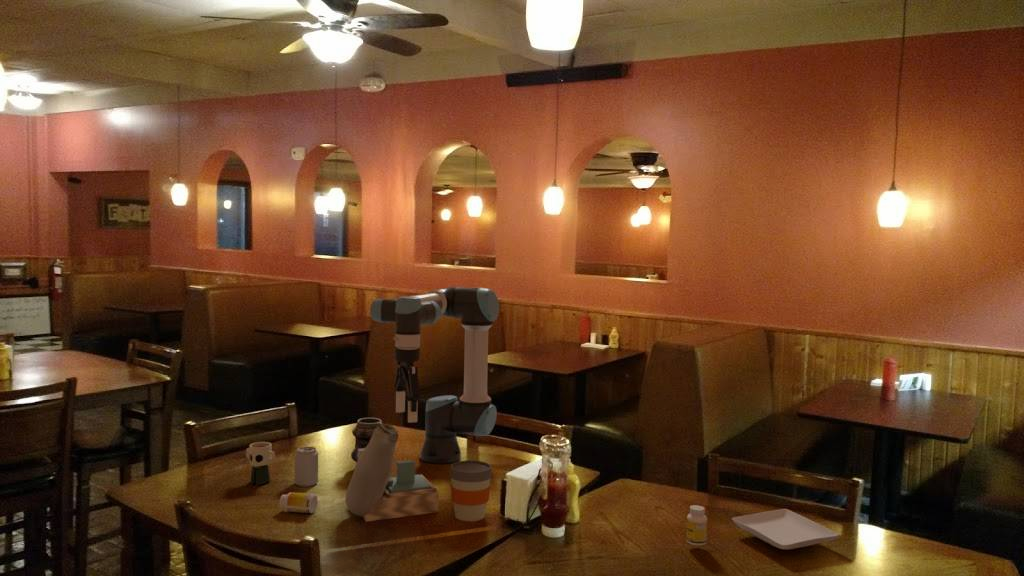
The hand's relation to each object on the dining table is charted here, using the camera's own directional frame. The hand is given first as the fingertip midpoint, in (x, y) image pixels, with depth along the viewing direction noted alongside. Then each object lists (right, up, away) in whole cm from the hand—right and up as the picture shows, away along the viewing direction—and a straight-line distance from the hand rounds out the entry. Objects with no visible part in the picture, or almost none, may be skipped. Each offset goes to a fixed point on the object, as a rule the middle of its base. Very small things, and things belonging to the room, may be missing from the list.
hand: (406, 417), depth 226 cm
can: (-36, -26, +20) cm, 49 cm away
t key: (-10, -22, -2) cm, 24 cm away
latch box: (-3, -28, +1) cm, 28 cm away
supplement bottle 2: (+83, -32, -20) cm, 91 cm away
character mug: (-51, -26, +20) cm, 61 cm away
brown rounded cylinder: (-13, -27, -7) cm, 31 cm away
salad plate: (+110, -32, -13) cm, 115 cm away
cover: (-1, -22, +2) cm, 22 cm away
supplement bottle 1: (-26, -25, -5) cm, 37 cm away
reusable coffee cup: (+20, -29, -4) cm, 35 cm away
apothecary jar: (-19, -25, +36) cm, 48 cm away
